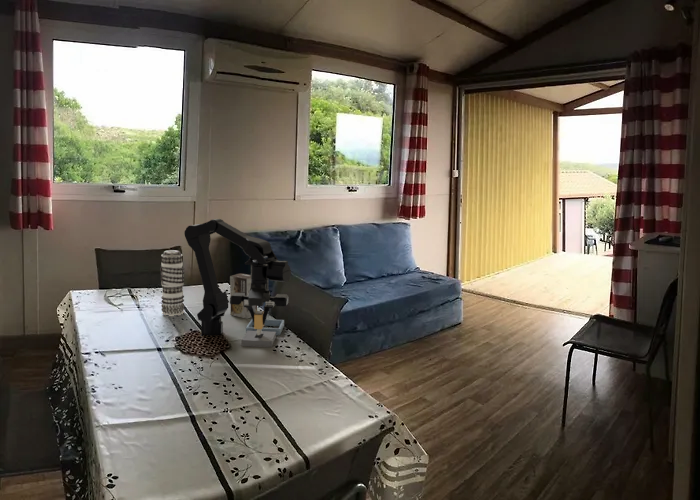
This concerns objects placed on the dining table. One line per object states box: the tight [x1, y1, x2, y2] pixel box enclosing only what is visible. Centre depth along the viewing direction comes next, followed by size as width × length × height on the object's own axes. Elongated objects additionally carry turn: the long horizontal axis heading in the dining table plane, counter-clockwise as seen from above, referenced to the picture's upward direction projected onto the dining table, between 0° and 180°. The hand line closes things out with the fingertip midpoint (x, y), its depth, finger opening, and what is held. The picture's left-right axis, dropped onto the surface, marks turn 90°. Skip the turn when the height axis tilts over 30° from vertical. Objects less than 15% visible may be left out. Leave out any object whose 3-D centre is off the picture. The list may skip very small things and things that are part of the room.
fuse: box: [253, 310, 265, 335], centre depth 181 cm, size 3×4×7 cm, turn 179°
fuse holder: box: [240, 331, 277, 348], centre depth 182 cm, size 10×10×3 cm
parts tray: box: [245, 318, 285, 336], centre depth 195 cm, size 12×11×3 cm
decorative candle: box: [159, 249, 185, 317], centre depth 212 cm, size 9×9×25 cm
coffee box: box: [229, 273, 258, 320], centre depth 214 cm, size 9×6×16 cm
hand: (259, 324), depth 181 cm, fingers closed on fuse, 3 cm apart
